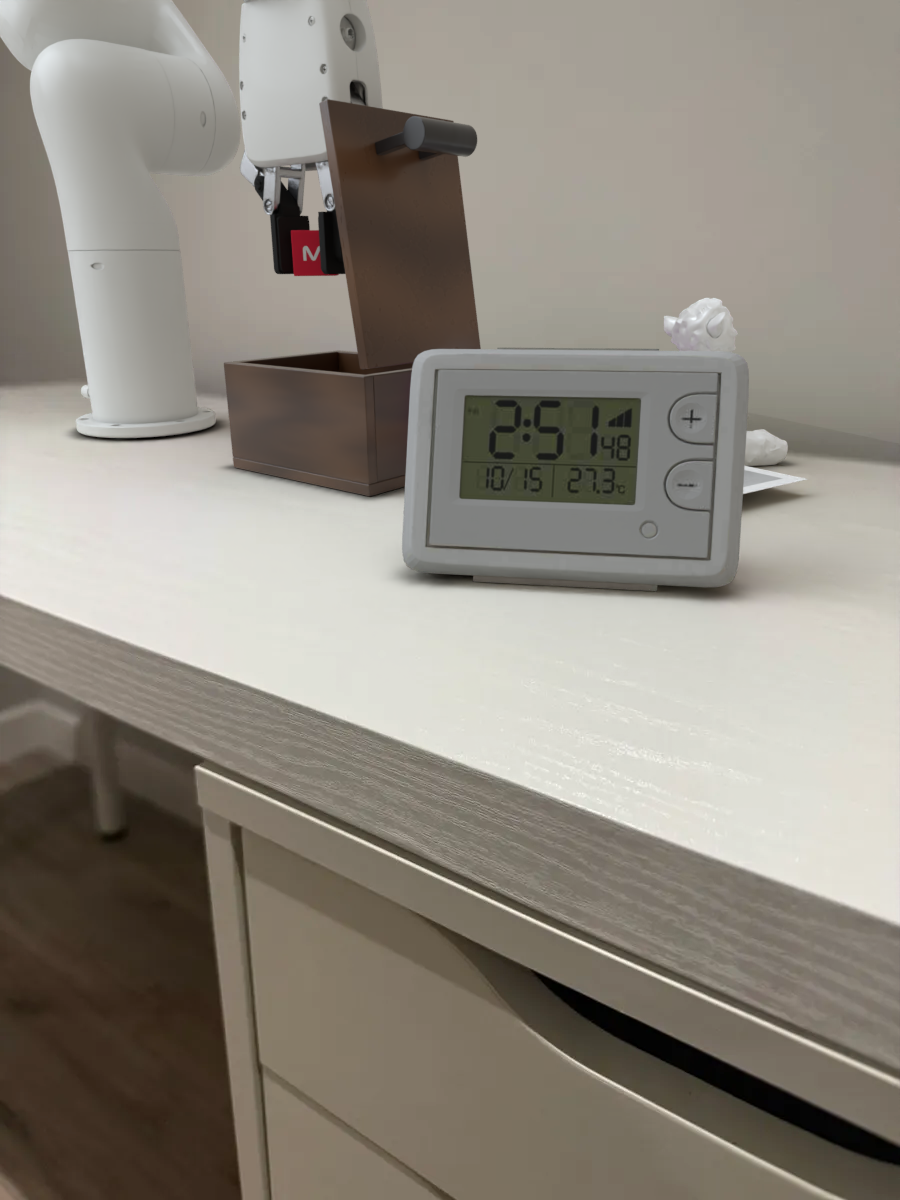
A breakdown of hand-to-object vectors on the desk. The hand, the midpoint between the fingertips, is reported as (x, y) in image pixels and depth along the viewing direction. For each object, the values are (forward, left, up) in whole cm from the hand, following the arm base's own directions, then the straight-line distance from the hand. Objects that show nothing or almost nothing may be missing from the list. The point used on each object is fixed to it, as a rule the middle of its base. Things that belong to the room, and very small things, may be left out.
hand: (316, 270), depth 64 cm
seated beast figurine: (+23, +18, -14) cm, 32 cm away
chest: (+3, 0, -14) cm, 14 cm away
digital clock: (+29, -11, -14) cm, 34 cm away
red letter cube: (0, 0, -1) cm, 1 cm away
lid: (+9, 0, +2) cm, 9 cm away
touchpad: (+27, +6, -14) cm, 31 cm away
